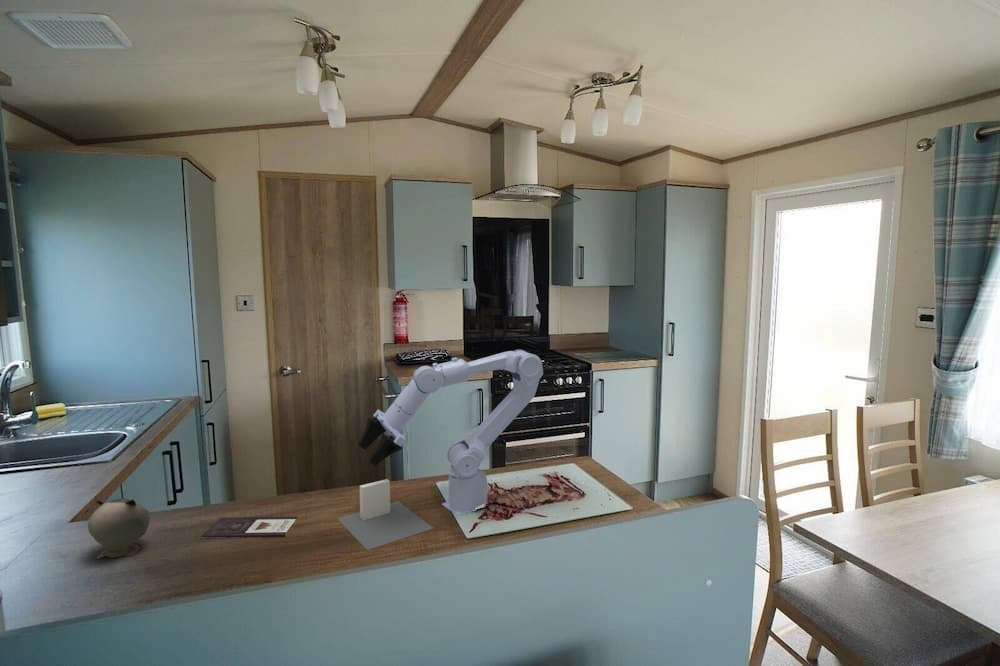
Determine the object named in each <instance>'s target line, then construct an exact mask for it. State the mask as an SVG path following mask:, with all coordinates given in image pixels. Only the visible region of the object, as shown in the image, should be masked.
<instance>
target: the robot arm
mask: <svg viewBox="0 0 1000 666" xmlns="http://www.w3.org/2000/svg"><path fill="white" fill-rule="evenodd" d="M499 370H504V371H508V372H510V373H511V375H512V384H513V389H512V390H511V391H509V393H508V394H507V395H506V396H505V397H504V399H502V400H501V402H500V403H499V404H498V405H497V406H496V407H495V408H494V409H493V410H492V411H491V413H489V414H488V415H487V417H486V418H485V419H484V420H483V421H482V422H481V423H480V424H479V425H478V427H477V428H476V429H475V430H474V431H473V432H472V433H470V434H467V435H466V436H464V437H463V438H462V439H461V440H459V441H457V442H454V443H453V444H452V445H450V447H449V448H448V450H447V456H446V457H447V461H448V462H449V463H450V464H451V465H450V468H449V470H448V501H446V502H442V503H441V505H442V506H443V507H445V508H446V509H448V510H449V511H451V512H452V513H454V514H455V515H457V516H462V515H464V514H468V513H471V512H472V511H473V510H475V508H476V507H478V506H480V505H482V504H484V503H487V504H488V479H487V476H486V475H487V474H486V472H485V471H484V470H483V469H481V468H480V465H481V463H482V462H483V460H484V459H485V457H486V454H487V450H488V448H489V447H490V445H492V444H493V442H494V441H495V440H496V439H497V438H498V437H499V436H500V435H501V433H503V431H504V430H505V429H506V428H507V427H509V425H511V423H513V421H514V420H515V418H517V417H518V416H519V414H520V413H521V412H522V411H523V410H524V409H525V408H526V407H527V406H528V405H529V403H530V402H531V401H532V400H533V399H534V397H536V393H537V389H538V386H539V383H540V380H541V378H542V376H543V375H544V368H543V362H542V360H541V358H540V357H539V356H538V355H536V354H533V353H530V352H527V351H525V350H523V349H515V350H508V351H503V352H500V353H496V354H493V355H489V356H486V357H482V358H479V359H476V360H475V359H474V360H471V361H465V359H462V358H458V357H451V360H450V361H446V362H442V363H438V362H433V363H432V366H428V365H423V366H420V367H419V368H417V369H415V370H414V372H413V373H412V378H411V380H410V381H409V382H408V383H407V386H405V387H404V388H403V389H402V391H401V392H400V393H399V394H398V395H397V397H396V398H395V399H394V401H393V402H392V403H391V404H390V406H389V407H388V408H387V410H386V411H385V412H383V411H382V410H380V409H377V410H376V411H375V413H373V417H372V416H368V417H367V422H366V425H365V430H364V431H363V434H362V437H361V439H360V441H359V443H358V447H359V448H362V449H363V450H367V449H368V448H369V447H370V446H372V444H373V443H374V442H375V441H376V440H377V438H379V437H380V436H381V437H380V440H379V443H378V445H377V446H376V449H375V450H374V451H373V452H372V454H371V456H370V458H369V460H368V462H369V463H370V464H372V465H373V466H377V465H379V464H380V463H381V462H383V461H384V460H385V459H386V458H388V457H389V456H391V455H393V454H395V453H397V452H399V451H402V449H403V445H404V444H405V443H406V441H407V439H406V437H405V436H404V434H403V432H402V431H403V429H404V428H405V426H407V424H408V423H409V422H410V420H411V419H412V418H413V417H414V415H415V414H416V413H417V411H418V410H419V409H420V407H421V406H422V405H423V404H424V403H425V400H426V399H427V398H428V397H429V395H430V394H431V393H432V394H433V393H435V392H437V391H438V390H439V389H440V388H445V387H448V386H449V387H450V386H454V385H457V384H461V383H466V382H467V381H468V380H469V379H470V377H471V376H473V375H478V374H483V373H489V372H494V371H499ZM386 432H387V433H388V435H387V434H385V433H386Z"/></svg>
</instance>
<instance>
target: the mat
mask: <svg viewBox="0 0 1000 666" xmlns="http://www.w3.org/2000/svg"><path fill="white" fill-rule="evenodd" d="M336 520H338V521H339V523H341V525H342V526H343V527H344V528H345V529H346V530H347V531H348V532H349V533H350V534H351V535H352V536H353V537H354V538H355V539H356V540H357V541H358V542H359V544H361V545H362V547H364V549H366V551H369V550H372V549H375V548H379V547H381V546H385V545H386V544H391V543H393V542H397V541H400V540H402V539H406V538H409V537H411V536H415V535H418V534H421V533H423V532H427V531H430V530H432V529H434V527H433V526H431V525H430V524H429V523H427V521H425V520H424V519H422V518H421V517H419V516H418V515H417V514H415V512H414V511H412V510H410V508H408V507H407V506H405V505H404V504H402V503H401V502H400V501H394V502H390V513H387V514H384V515H380V516H377V517H374V518H370V519H367V520H362V519H361V518H360V511H359V512H355V513H351V514H347V515H343V516H340V517H337V518H336Z"/></svg>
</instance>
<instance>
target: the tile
mask: <svg viewBox="0 0 1000 666" xmlns="http://www.w3.org/2000/svg"><path fill="white" fill-rule="evenodd" d="M390 481H391V480H389V479H388V478H386V479H382V480H378V481H374V482H369V483H365V484H362V485H361V484H360V485H359V512H360V518H361V519H362V520H367V519H370V518H374V517H377V516H380V515H384V514H387V513H390V503H391V482H390Z"/></svg>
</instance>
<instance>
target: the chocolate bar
mask: <svg viewBox="0 0 1000 666" xmlns="http://www.w3.org/2000/svg"><path fill="white" fill-rule="evenodd" d="M297 519H298V516H248V517H247V516H241V517H239V516H238V517H220V518H219V519H218V520H216V522H215V523H214V524H213V525H212V526H211V527H210V528H208V529H207V530H206V531H205V532H204V533H203V534H202V535H201V536H200V538H201V537H227V538H226V539H230V538H229V537H244V538H243V539H248V538H247V537H254V538H253V539H257V537H262V538H264V539H265V538H267V539H268V538H285V537H286V533H287V532H288V530H289V529H290V528H291V526H292V525H293V524H294V523H295V522H296V520H297Z"/></svg>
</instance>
